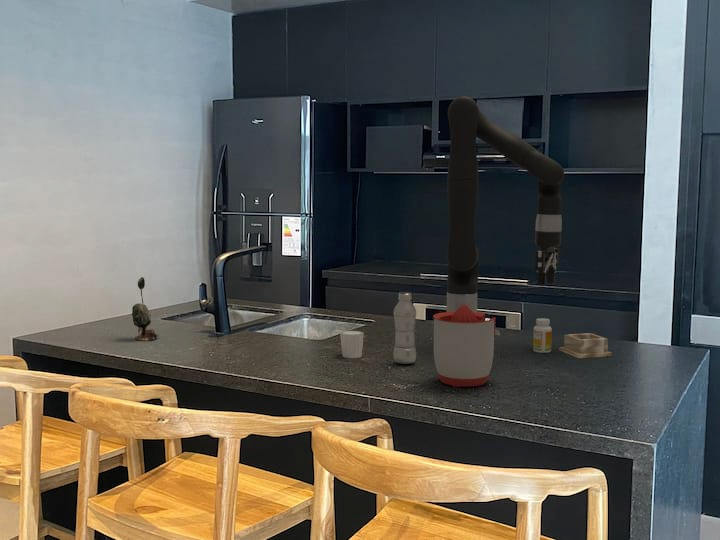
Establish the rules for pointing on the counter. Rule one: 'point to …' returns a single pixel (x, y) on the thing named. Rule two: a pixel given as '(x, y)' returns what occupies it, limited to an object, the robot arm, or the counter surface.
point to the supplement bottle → (542, 336)
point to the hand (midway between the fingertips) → (546, 283)
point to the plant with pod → (142, 318)
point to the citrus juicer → (463, 347)
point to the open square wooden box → (585, 345)
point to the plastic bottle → (404, 329)
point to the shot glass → (351, 344)
